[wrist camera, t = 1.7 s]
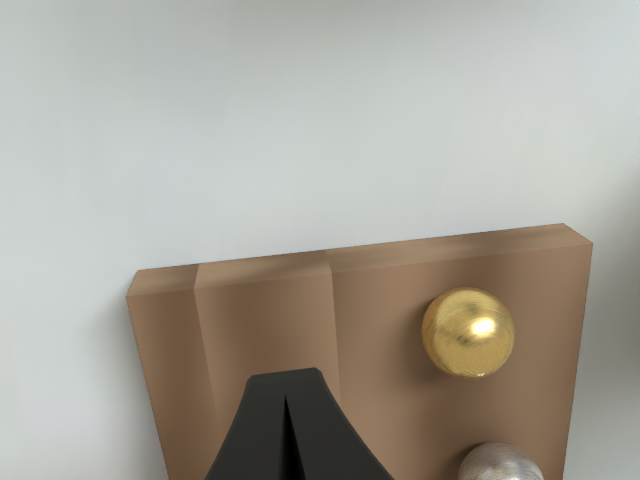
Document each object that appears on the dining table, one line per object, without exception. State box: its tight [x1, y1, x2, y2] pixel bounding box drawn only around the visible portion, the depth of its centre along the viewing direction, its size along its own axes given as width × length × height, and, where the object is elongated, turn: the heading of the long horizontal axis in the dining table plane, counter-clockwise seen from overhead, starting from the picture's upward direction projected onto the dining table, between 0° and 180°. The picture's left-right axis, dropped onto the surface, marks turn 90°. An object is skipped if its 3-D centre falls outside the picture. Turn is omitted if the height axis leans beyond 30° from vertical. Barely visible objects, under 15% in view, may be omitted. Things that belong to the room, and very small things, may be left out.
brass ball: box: [421, 287, 515, 379], centre depth 18 cm, size 3×3×3 cm
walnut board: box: [126, 223, 593, 480], centre depth 23 cm, size 16×18×2 cm
